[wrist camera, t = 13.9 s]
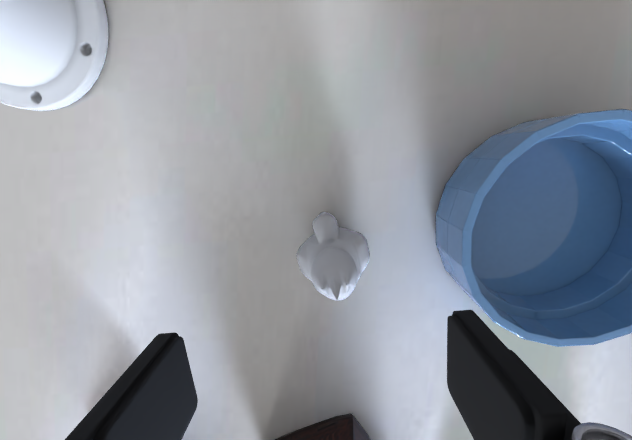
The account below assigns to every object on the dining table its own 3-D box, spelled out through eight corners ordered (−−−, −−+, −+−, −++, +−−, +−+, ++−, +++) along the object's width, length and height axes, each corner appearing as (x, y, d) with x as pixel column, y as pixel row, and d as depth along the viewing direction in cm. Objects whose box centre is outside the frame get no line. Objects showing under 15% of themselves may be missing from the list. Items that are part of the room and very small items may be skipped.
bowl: (433, 131, 22) (463, 125, 17) (647, 109, 21) (748, 95, 16) (434, 312, 25) (461, 352, 20) (620, 300, 24) (696, 339, 19)
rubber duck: (310, 285, 25) (301, 343, 18) (291, 213, 24) (272, 241, 16) (372, 272, 25) (391, 327, 17) (355, 198, 23) (368, 220, 16)
